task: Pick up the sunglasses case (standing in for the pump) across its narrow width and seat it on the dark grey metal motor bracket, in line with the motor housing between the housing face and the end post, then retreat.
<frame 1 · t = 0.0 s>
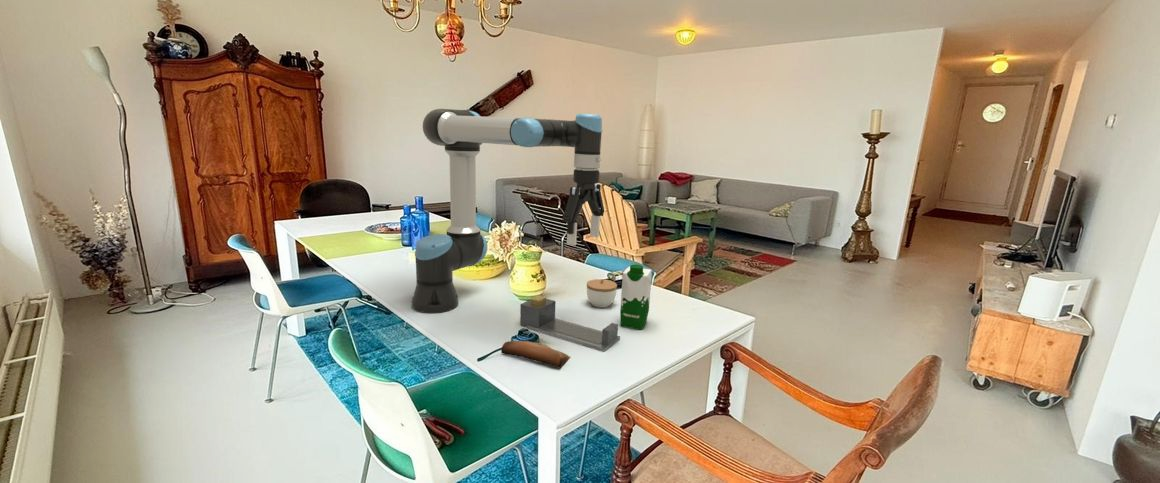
hand: (583, 240, 144), 28 cm above the table, fingers open, 13 cm apart
motor mount: (572, 333, 145), on the table
sunglasses case: (536, 358, 131), on the table
lidded jar: (600, 305, 170), on the table
milk carton: (633, 324, 155), on the table
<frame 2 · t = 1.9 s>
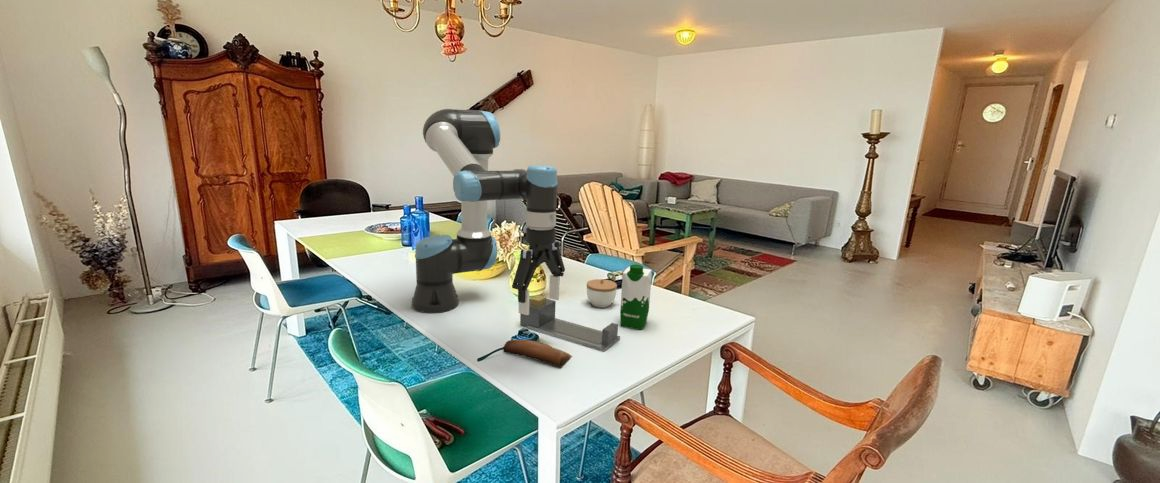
hand: (539, 306, 127), 15 cm above the table, fingers open, 13 cm apart
nothing on the table moved.
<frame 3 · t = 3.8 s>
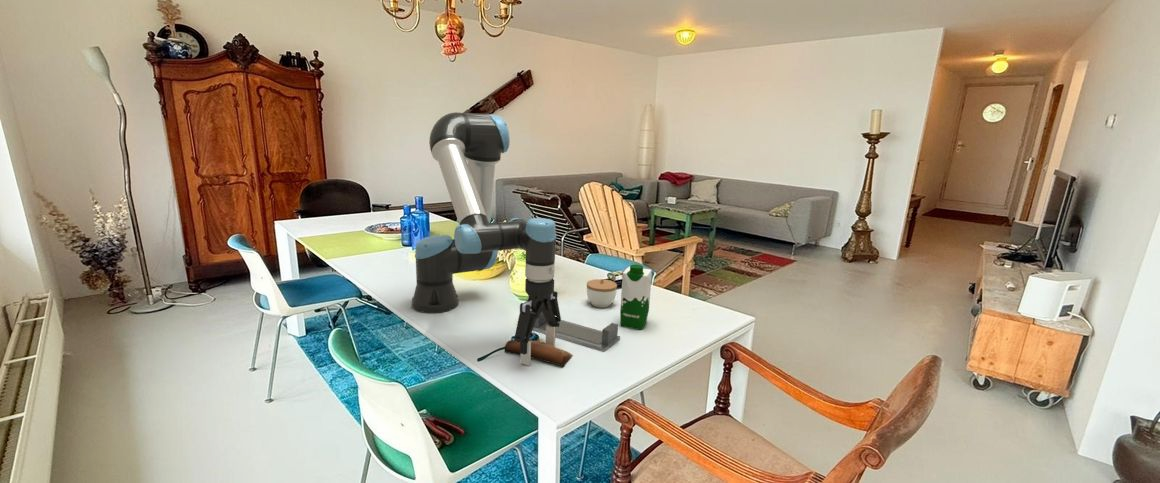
hand: (538, 355, 130), 0 cm above the table, fingers open, 11 cm apart
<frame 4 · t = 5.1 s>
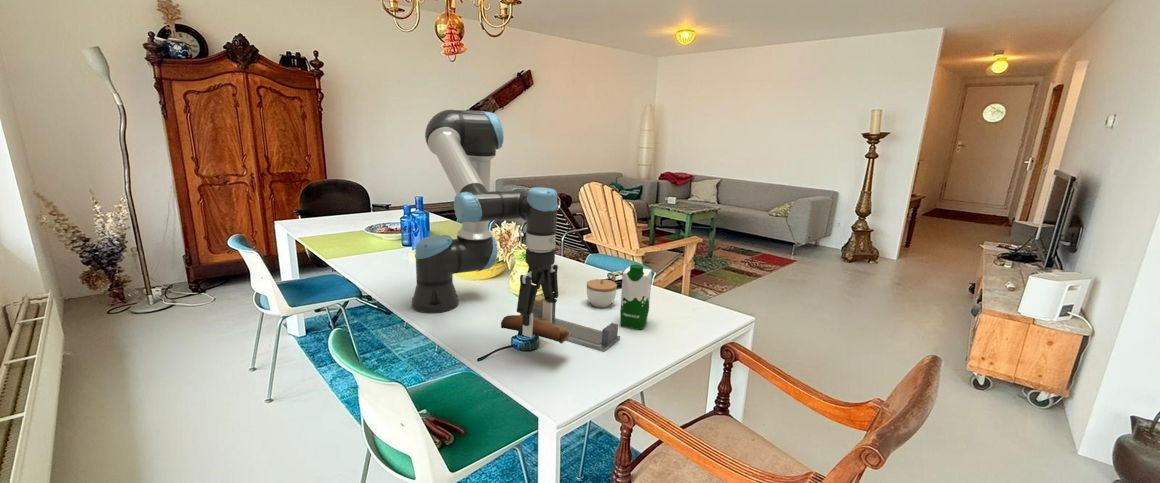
hand: (537, 329, 129), 8 cm above the table, fingers closed on sunglasses case, 8 cm apart
sunglasses case: (536, 332, 130), point 6 cm above the table, touching gripper
everything else where it was.
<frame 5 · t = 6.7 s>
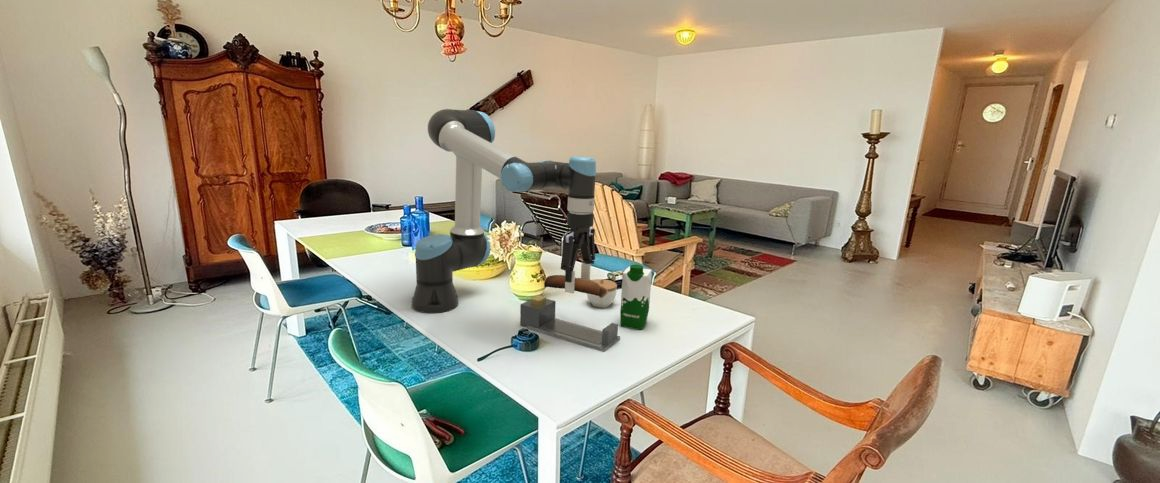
hand: (577, 288, 141), 15 cm above the table, fingers closed on sunglasses case, 8 cm apart
sunglasses case: (576, 291, 142), point 14 cm above the table, touching gripper
everything else where it was.
when the fingers open (2 cm above the table, at t = 8.8 s): sunglasses case stays where it is, resting on motor mount.
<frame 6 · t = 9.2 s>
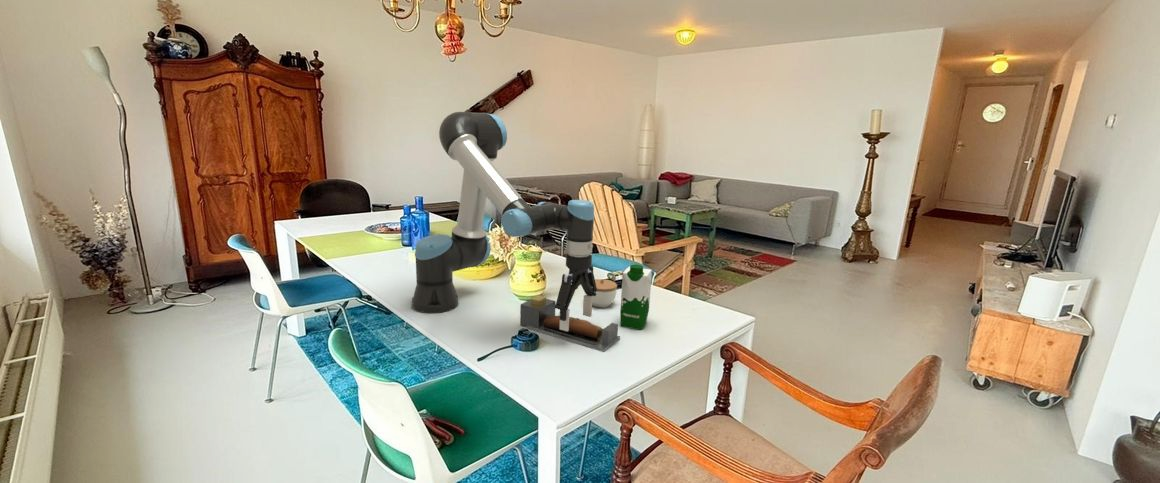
hand: (576, 322, 144), 4 cm above the table, fingers open, 13 cm apart
sunglasses case: (575, 331, 145), point 1 cm above the table, touching motor mount
everything else where it was.
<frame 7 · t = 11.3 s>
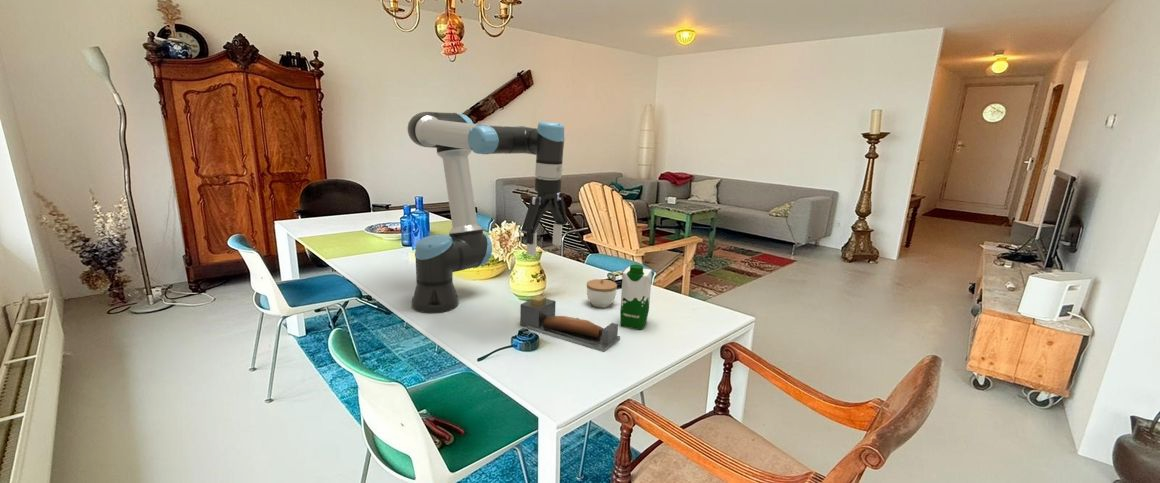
hand: (544, 249, 142), 25 cm above the table, fingers open, 13 cm apart
nothing on the table moved.
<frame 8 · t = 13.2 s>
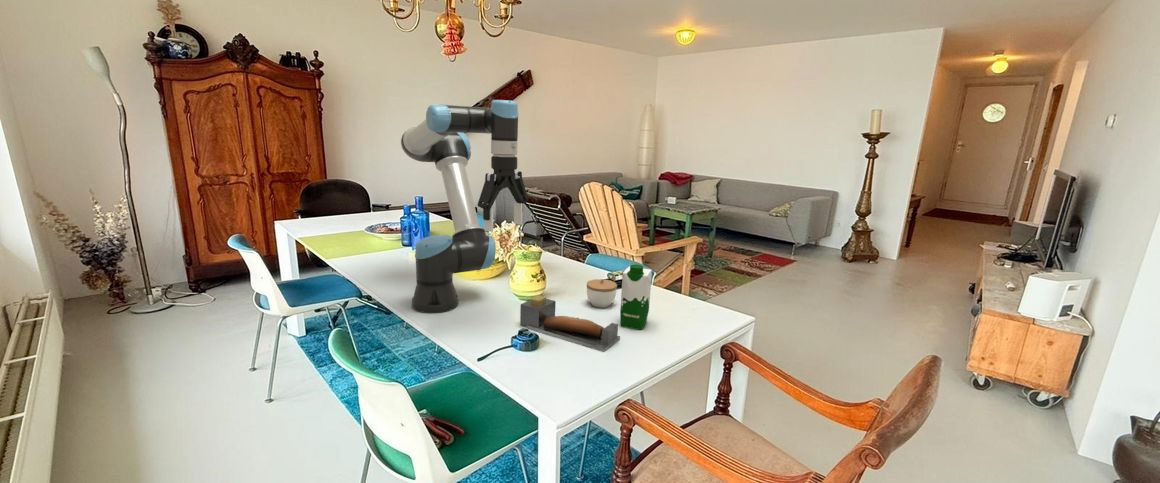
hand: (503, 227, 144), 31 cm above the table, fingers open, 13 cm apart
nothing on the table moved.
at the end: sunglasses case inside the target area on the motor mount (0.8 cm from its centre), point 0.9 cm above the motor mount's base; the gripper is holding nothing; sunglasses case touching motor mount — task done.
